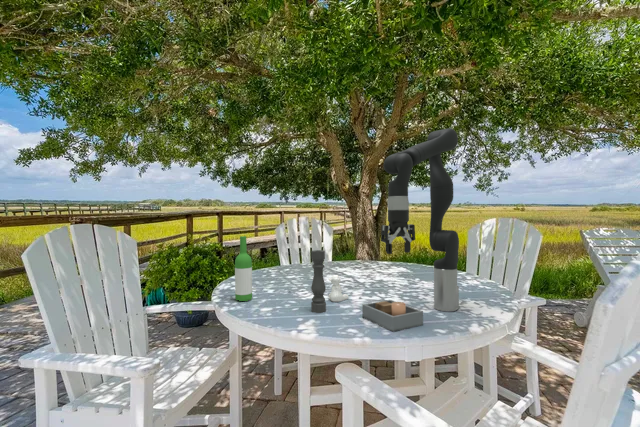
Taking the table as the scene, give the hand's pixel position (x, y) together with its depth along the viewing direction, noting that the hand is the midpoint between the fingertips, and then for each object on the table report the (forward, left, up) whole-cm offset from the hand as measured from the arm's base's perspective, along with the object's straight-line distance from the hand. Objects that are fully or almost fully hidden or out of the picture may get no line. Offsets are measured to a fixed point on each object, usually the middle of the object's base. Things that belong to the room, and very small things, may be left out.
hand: (398, 253), depth 122 cm
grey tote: (0, -4, -26) cm, 26 cm away
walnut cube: (0, -8, -26) cm, 27 cm away
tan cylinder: (0, 0, -25) cm, 25 cm away
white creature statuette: (+3, -39, -26) cm, 47 cm away
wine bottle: (+41, -61, -26) cm, 78 cm away
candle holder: (+18, -29, -26) cm, 43 cm away
